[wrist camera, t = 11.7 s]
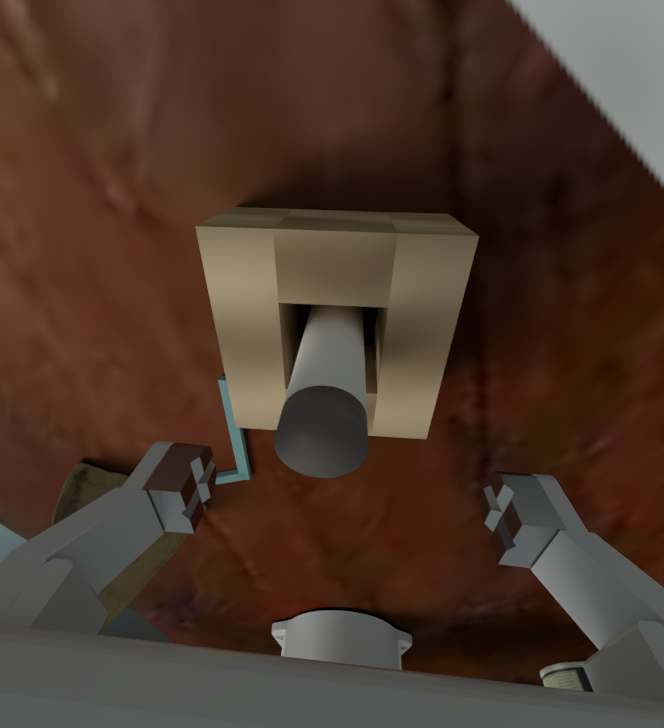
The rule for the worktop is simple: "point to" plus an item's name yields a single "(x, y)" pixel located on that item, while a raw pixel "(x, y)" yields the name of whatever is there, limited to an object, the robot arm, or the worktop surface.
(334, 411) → the long grey cylinder
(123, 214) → the worktop surface
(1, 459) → the worktop surface
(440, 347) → the wooden block with hole
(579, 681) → the coffee can
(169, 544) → the rock
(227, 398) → the hex key
